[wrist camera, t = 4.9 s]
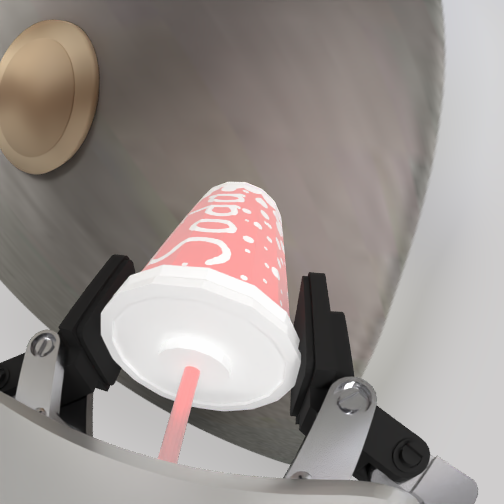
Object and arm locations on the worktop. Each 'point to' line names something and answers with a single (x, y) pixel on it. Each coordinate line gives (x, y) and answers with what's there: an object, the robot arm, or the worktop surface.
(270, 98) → the worktop surface
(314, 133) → the worktop surface
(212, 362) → the beverage cup
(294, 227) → the worktop surface
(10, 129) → the plate
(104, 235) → the worktop surface
